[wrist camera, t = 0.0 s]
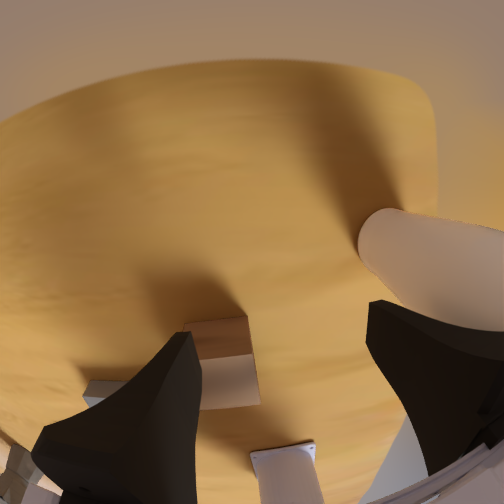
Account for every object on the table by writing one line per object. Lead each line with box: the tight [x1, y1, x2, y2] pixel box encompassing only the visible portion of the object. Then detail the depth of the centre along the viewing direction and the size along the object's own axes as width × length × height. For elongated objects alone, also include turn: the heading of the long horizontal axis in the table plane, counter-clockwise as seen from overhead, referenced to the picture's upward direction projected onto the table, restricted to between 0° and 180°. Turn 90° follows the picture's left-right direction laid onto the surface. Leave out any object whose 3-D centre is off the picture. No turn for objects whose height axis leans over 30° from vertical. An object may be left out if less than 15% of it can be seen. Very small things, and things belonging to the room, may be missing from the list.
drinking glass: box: [358, 208, 504, 332], centre depth 13 cm, size 7×7×15 cm
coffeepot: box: [0, 444, 44, 504], centre depth 21 cm, size 15×9×18 cm, turn 153°
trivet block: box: [82, 380, 129, 408], centre depth 23 cm, size 9×9×3 cm
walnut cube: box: [183, 316, 261, 410], centre depth 20 cm, size 5×5×5 cm
